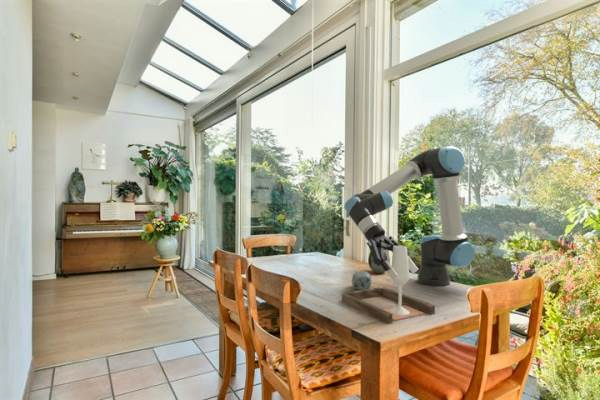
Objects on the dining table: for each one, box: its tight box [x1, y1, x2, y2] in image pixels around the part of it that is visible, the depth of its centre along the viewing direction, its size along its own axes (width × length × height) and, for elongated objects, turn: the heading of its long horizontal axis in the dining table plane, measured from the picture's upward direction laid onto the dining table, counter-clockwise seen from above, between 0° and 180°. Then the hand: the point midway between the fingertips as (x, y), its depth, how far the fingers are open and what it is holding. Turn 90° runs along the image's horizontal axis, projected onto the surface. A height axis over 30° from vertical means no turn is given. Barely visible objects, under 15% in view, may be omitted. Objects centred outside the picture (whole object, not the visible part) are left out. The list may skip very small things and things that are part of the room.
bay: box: [341, 286, 436, 325], centre depth 137 cm, size 22×29×3 cm
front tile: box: [383, 304, 426, 322], centre depth 129 cm, size 14×10×1 cm
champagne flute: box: [391, 245, 410, 315], centre depth 129 cm, size 7×7×24 cm
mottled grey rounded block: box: [351, 270, 372, 291], centre depth 162 cm, size 14×10×10 cm
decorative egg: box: [367, 250, 391, 274], centre depth 194 cm, size 12×12×15 cm
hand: (405, 274), depth 127 cm, fingers open, 13 cm apart
